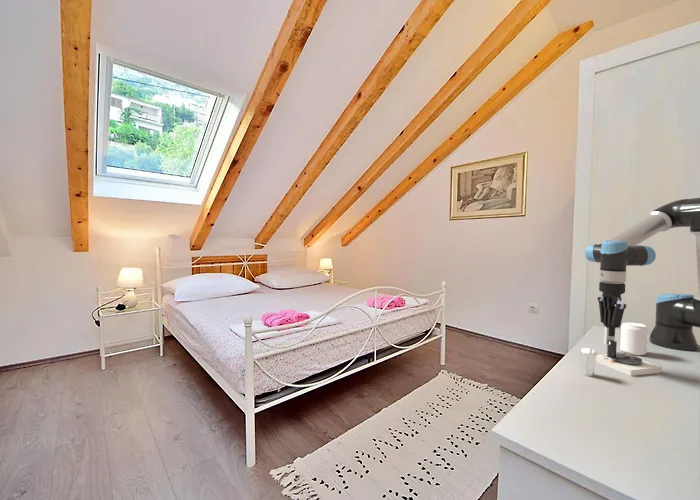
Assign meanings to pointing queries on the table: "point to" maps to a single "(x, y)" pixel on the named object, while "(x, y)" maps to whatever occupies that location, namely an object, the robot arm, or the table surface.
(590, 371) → the milkshake
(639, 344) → the beverage can
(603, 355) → the dial board
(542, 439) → the table surface
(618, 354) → the dial
